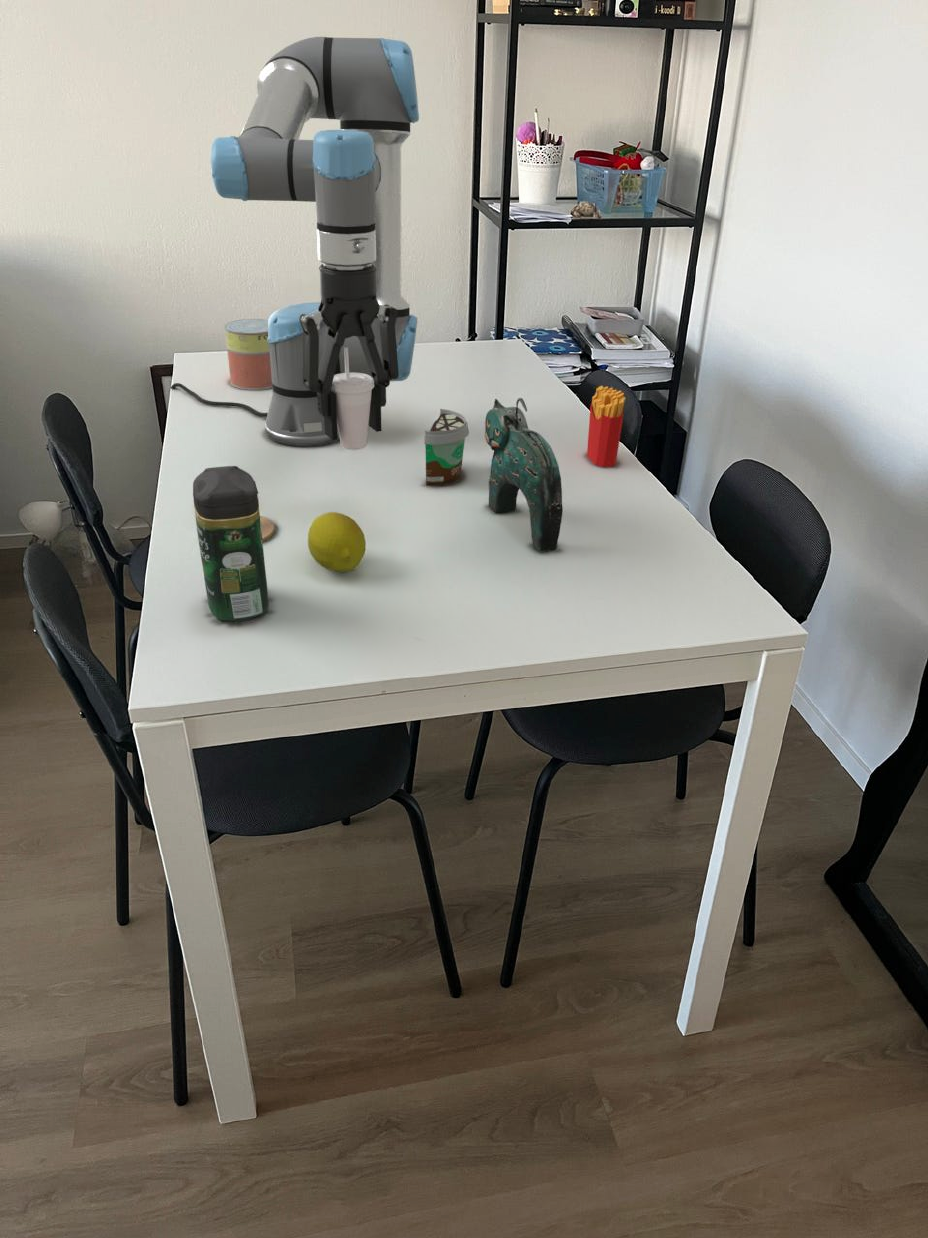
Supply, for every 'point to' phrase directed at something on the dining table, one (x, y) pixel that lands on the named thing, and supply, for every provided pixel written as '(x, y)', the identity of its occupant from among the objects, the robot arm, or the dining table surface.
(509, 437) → the ceramic cat
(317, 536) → the lemon
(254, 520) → the coffee jar
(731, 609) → the dining table surface
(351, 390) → the white drink cup
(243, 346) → the canned food
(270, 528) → the cork coaster
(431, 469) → the food container
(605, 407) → the french fries
